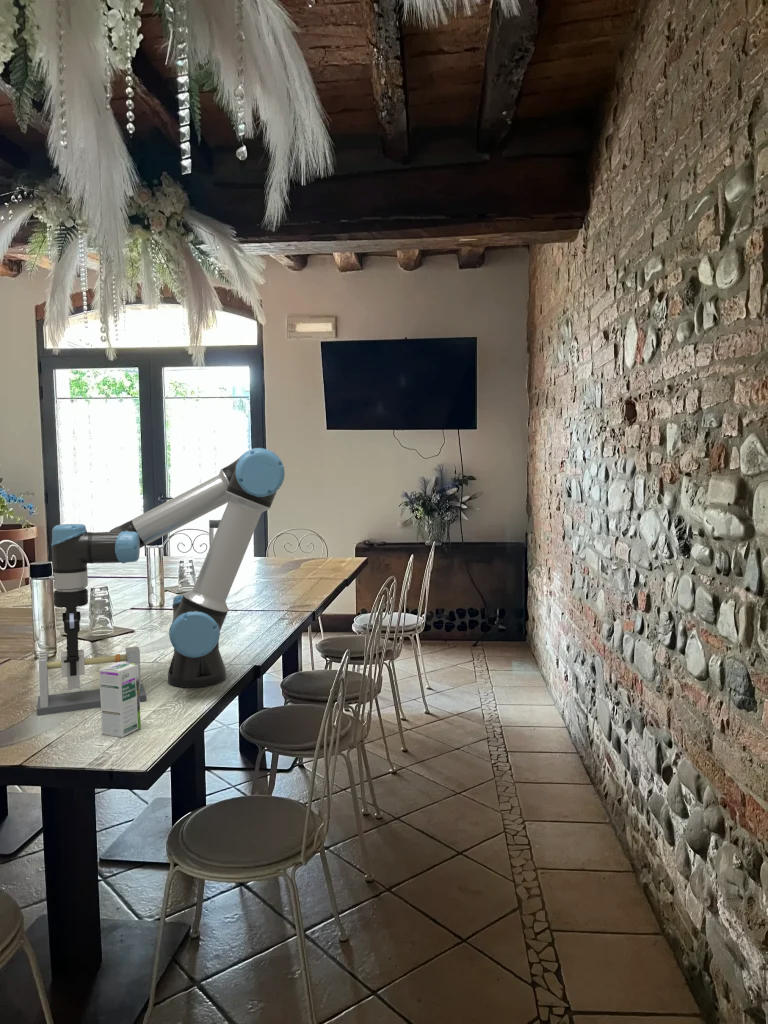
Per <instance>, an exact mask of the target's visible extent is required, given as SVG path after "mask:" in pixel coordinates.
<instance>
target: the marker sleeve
mask: <svg viewBox="0 0 768 1024" xmlns="http://www.w3.org/2000/svg"><path fill="white" fill-rule="evenodd" d="M78 654H79V672H80V676H85V675H86V674H85V673H86V672H85V666H86V665H84V659H85V650H84V649H78ZM60 659H61V660H60V661H61V668H60V669H61V678H67V663H64V660H67V650H64V651H61V652H60Z"/></svg>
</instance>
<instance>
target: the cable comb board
mask: <svg viewBox="0 0 768 1024" xmlns="http://www.w3.org/2000/svg"><path fill="white" fill-rule="evenodd" d="M139 647H140V646H129V647H125V654H120V653H116V654H114V655H106V656H98V657H88V658H84V665H85V666H91V665H100V664H109V663H110V664H111V663H115V664H116V663H117V662H129V663H135V664H138V673H139V697H140V703H142V702H143V703H144V702H147V693H146V691H145V687H144V684H143V683H141V649H140V648H139ZM48 660H49V659H48V651H47V650H45V651H40V652H39V657H38V674H39V675H38V678H39V680H38V681H39V695H38V696H37V697H38V698H37V703H36V704H37V705H36V716H43V715H52V714H59V713H66V712H67V713H68V712H72V711H73V712H74V711H75V712H76V711H80V710H81V711H82V710H88V709H95V708H96V709H97V708H101V699H100V688H97V689H86V690H80V691H71V692H63V693H55V694H54V693H53V694H49V693H50V692H49V691H50V690H49V670H53V669H54V670H56V669H61V660H60V661H58V660H57V661H51V662H48Z"/></svg>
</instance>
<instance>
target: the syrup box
mask: <svg viewBox="0 0 768 1024" xmlns="http://www.w3.org/2000/svg"><path fill="white" fill-rule="evenodd" d="M98 671H99V672H98V673H99V674H98V675H99V689H100V699H101V707H100V716H101V717H100V718H101V733H102V735H106V736H109V737H116V738H124V737H126V736H128V735H130V734H132V733H135V732H136V731H137V730H140V729H141V727H142V725H141V721H142V720H141V702H140V697H139V673H138V664H135V663H129V662H126V661H121V662H117V663H116V662H115V663H113V664H110V665H107V666H105V667H101V668H100V669H99V670H98Z"/></svg>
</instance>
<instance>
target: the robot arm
mask: <svg viewBox="0 0 768 1024" xmlns="http://www.w3.org/2000/svg"><path fill="white" fill-rule="evenodd" d="M285 475H286V473H285V467H284V463H283V461H282V460H281V458H280V457H279V456H278V455H277V454H276V453H275V452H273V451H272V450H271V449H267V448H263V447H255V448H250V449H249V450H247V451H245V452H244V453H242V455H240V456H239V457H238V458H237V459H236V460H235V461H233V462H231V463H230V464H228V465H227V466H225V467H223V468H221V469H220V470H219V474H217V475H216V476H214V477H211V478H210V479H208V480H206V481H204V482H202V483H200V484H198V485H195V487H193V488H191V489H189V490H187V491H185V492H182V493H181V494H179V495H177V496H175V497H172V498H171V499H169V500H167V501H165V502H163V503H161V504H159V505H157V506H156V507H153V508H152V509H150V510H148V511H145V512H143V513H142V514H139V515H138V516H136V517H134V518H132V519H130V520H128V521H126V522H125V523H122V524H120V525H118V526H115V527H114V528H112V529H110V530H109V531H101V532H100V531H99V532H90V531H88V530H87V527H86V525H85V524H83V523H66V524H57V525H55V526H53V528H52V529H51V544H50V545H51V554H52V555H51V556H52V557H51V558H52V576H50V577H49V579H50V580H51V581H53V582H52V585H53V589H55V590H54V591H53V593H52V594H53V606H54V607H56V608H61V609H62V608H63V609H64V608H65V611H64V612H62V613H61V615H62V616H61V617H62V622H63V632H64V633H65V634H66V647H65V649H66V651H67V660H64V663H67V677H66V683H67V684H66V685H67V686H66V687H67V689H66V690H75V689H80V688H81V682H80V681H81V679H80V677H81V675H80V672H79V654H78V650H79V633H80V632H81V631H80V630H81V622H80V621H81V611H78V610H77V608H78V607H83V606H86V605H88V603H89V591H88V588H87V587H88V586H89V582H88V579H89V577H88V564H92V565H93V564H120V563H121V564H126V563H135V562H138V561H139V559H140V553H141V552H140V551H141V548H143V547H145V546H146V545H148V544H150V543H153V542H155V541H156V540H158V539H160V538H162V537H164V536H167V535H168V534H170V533H171V532H174V531H175V530H178V529H180V528H182V527H183V526H185V525H187V524H189V523H191V522H193V521H195V520H197V519H199V518H201V517H203V516H205V515H206V514H208V513H211V512H213V511H214V510H216V509H218V508H220V507H222V506H224V505H225V504H226V507H225V510H224V511H223V514H222V516H221V518H220V521H219V523H218V527H217V528H216V531H215V534H214V536H213V538H212V541H211V543H210V546H209V548H208V551H207V553H206V556H205V559H204V561H203V564H202V565H201V567H200V571H199V573H198V575H197V579H196V581H195V583H194V585H193V588H192V589H191V590H189V591H187V592H184V594H182V595H176V596H174V597H173V600H172V605H171V606H172V614H173V615H172V617H173V618H172V621H171V624H170V627H169V628H168V629H169V630H168V631H169V632H168V636H169V637H168V638H169V640H170V643H171V646H172V647H173V654H172V657H171V662H170V664H169V668H168V671H167V683H168V684H169V685H171V686H173V687H178V688H179V687H180V688H202V687H208V686H212V685H215V684H219V683H221V682H224V681H225V680H226V678H227V668H226V666H225V663H224V660H223V657H222V654H221V651H220V646H219V645H220V641H219V640H220V636H221V630H222V627H223V625H224V622H225V619H226V618H227V615H228V613H229V607H228V605H227V602H226V601H227V599H228V596H229V593H230V591H231V589H232V587H233V584H234V582H235V579H236V576H237V574H238V572H239V569H240V567H241V565H242V562H243V560H244V557H245V554H246V552H247V549H248V547H249V545H250V543H251V540H252V537H253V535H254V532H255V530H256V527H257V525H258V523H259V520H260V518H261V516H262V513H264V512H266V511H268V510H270V509H271V508H272V507H271V506H272V504H273V502H274V500H275V497H276V494H277V491H278V490H279V489H281V487H282V485H283V482H284V480H285Z"/></svg>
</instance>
